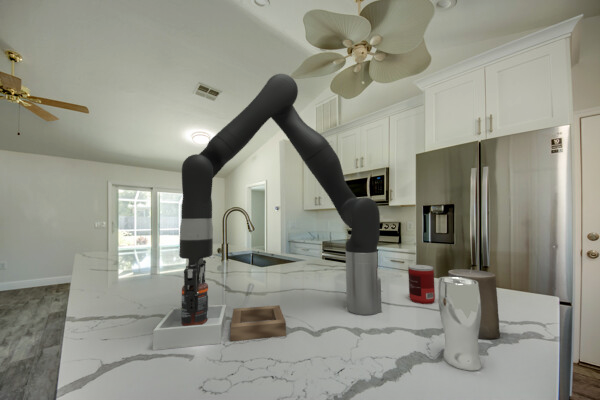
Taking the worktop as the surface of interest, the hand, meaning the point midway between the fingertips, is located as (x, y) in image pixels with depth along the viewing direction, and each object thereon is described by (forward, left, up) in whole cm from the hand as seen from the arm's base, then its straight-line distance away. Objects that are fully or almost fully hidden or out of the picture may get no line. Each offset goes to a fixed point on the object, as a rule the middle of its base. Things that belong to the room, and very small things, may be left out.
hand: (195, 307), depth 62 cm
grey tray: (0, 0, -6) cm, 6 cm away
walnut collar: (-15, 0, -6) cm, 16 cm away
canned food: (-69, -10, -6) cm, 70 cm away
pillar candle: (-66, +13, -6) cm, 67 cm away
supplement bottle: (0, 0, -4) cm, 4 cm away
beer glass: (-52, +24, -6) cm, 57 cm away
